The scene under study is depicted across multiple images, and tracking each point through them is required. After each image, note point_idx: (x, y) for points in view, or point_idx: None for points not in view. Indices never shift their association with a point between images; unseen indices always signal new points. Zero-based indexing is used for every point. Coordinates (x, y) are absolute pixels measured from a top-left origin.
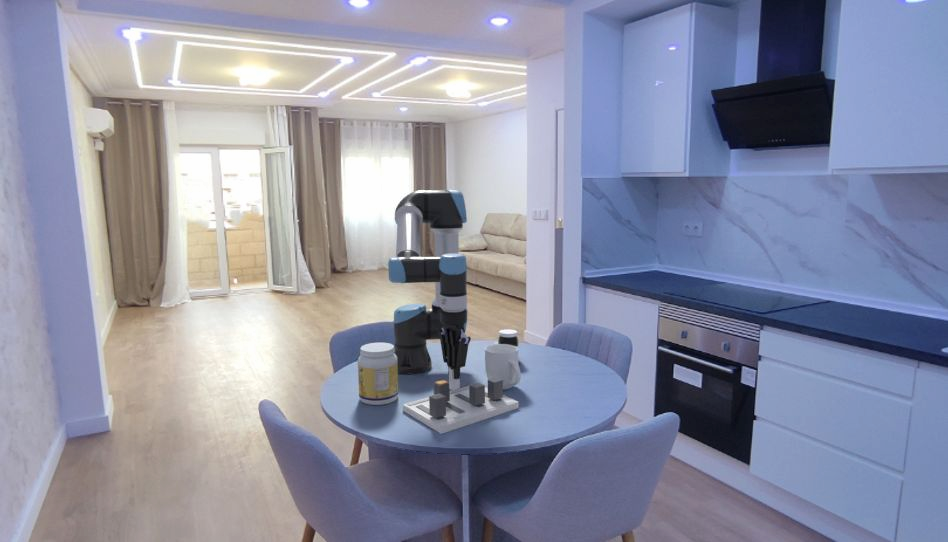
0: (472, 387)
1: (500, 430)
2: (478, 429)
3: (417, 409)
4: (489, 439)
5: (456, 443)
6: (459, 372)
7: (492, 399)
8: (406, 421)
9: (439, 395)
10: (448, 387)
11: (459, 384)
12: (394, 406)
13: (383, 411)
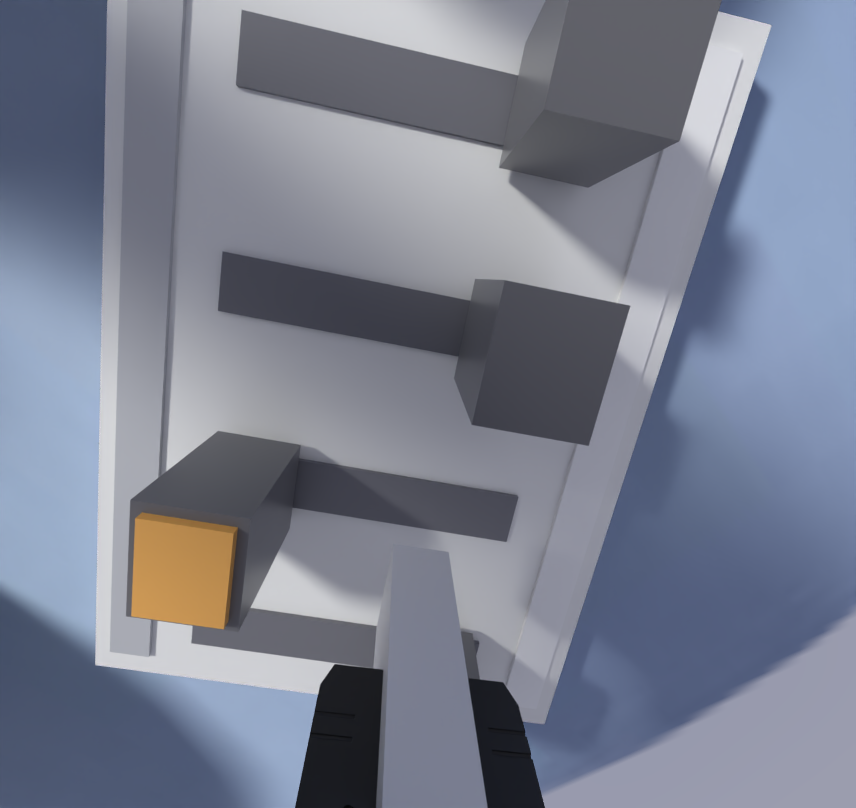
0: (531, 432)
1: (791, 462)
2: (669, 532)
3: (239, 659)
4: (789, 582)
5: (664, 706)
6: (532, 790)
7: (566, 182)
8: (268, 701)
9: None
10: (265, 510)
11: (450, 580)
12: (21, 620)
13: (50, 700)
